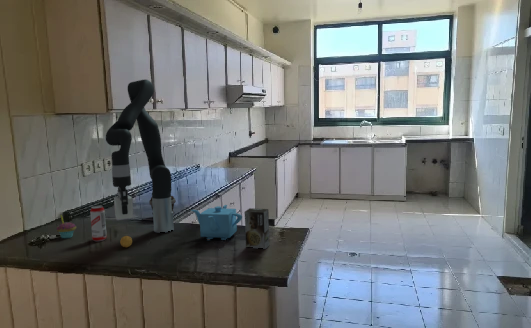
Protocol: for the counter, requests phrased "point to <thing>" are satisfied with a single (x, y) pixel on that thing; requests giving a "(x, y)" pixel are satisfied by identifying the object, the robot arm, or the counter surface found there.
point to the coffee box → (257, 228)
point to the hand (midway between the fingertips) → (124, 212)
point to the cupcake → (66, 229)
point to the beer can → (98, 223)
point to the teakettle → (218, 222)
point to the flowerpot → (171, 203)
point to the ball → (126, 241)
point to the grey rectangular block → (119, 209)
